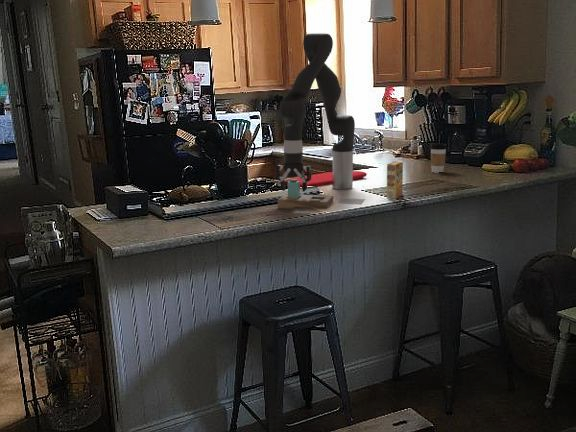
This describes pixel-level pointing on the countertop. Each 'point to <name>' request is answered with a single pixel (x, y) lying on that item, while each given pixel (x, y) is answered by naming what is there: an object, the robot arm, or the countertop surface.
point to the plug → (294, 189)
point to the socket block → (305, 201)
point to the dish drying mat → (326, 178)
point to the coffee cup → (438, 157)
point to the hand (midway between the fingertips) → (293, 190)
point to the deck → (350, 201)
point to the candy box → (394, 179)
